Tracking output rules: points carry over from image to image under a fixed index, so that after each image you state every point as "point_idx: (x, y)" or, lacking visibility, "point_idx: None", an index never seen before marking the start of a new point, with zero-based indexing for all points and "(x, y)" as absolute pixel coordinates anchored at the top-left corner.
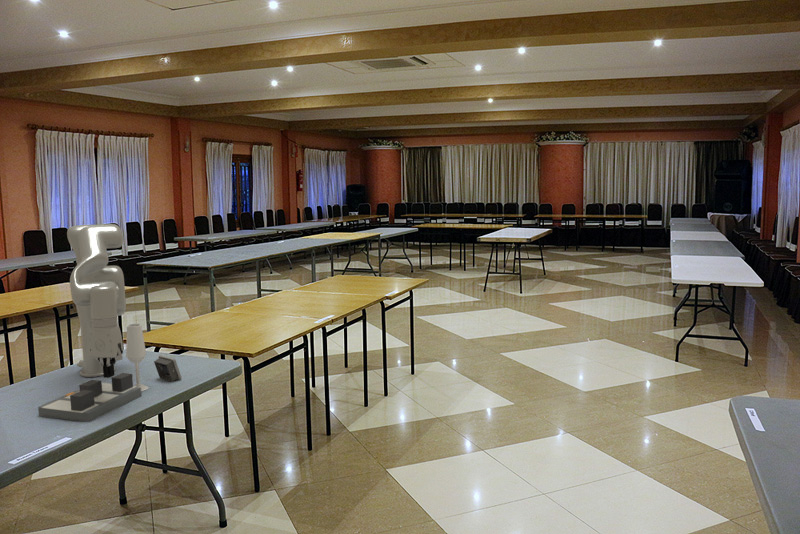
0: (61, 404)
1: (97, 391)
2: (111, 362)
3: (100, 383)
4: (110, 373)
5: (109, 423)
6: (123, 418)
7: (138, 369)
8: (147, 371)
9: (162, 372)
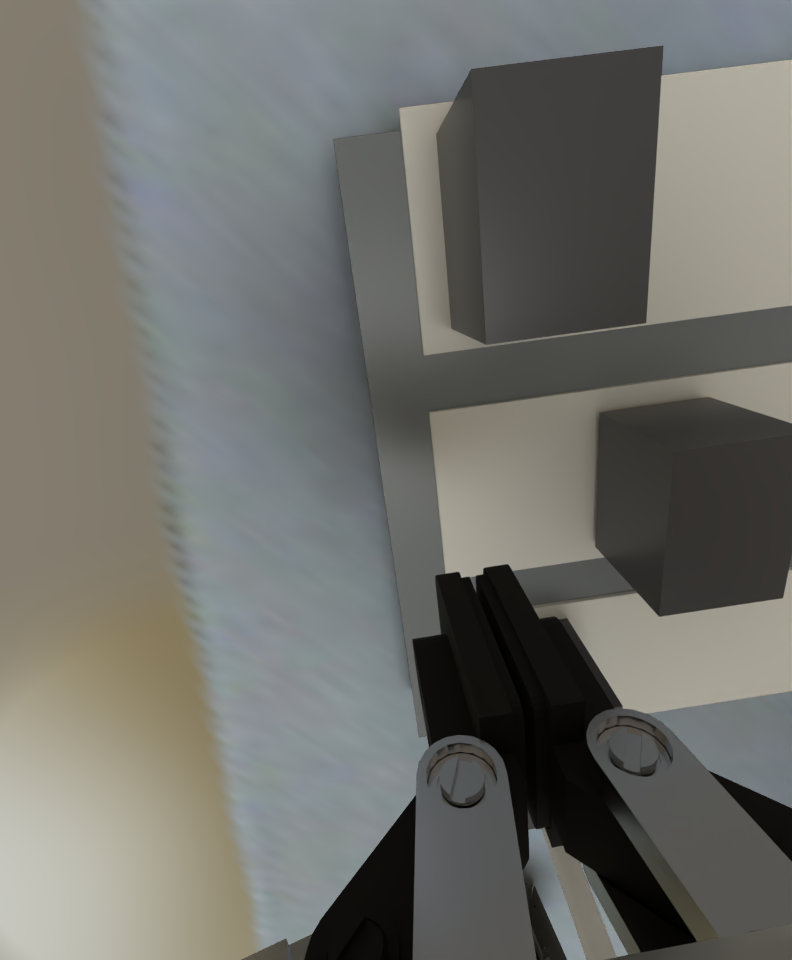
0: (780, 204)
1: (614, 514)
2: (403, 862)
3: (646, 588)
4: (421, 646)
5: (145, 212)
6: (144, 349)
7: (568, 903)
8: None
9: (538, 933)
